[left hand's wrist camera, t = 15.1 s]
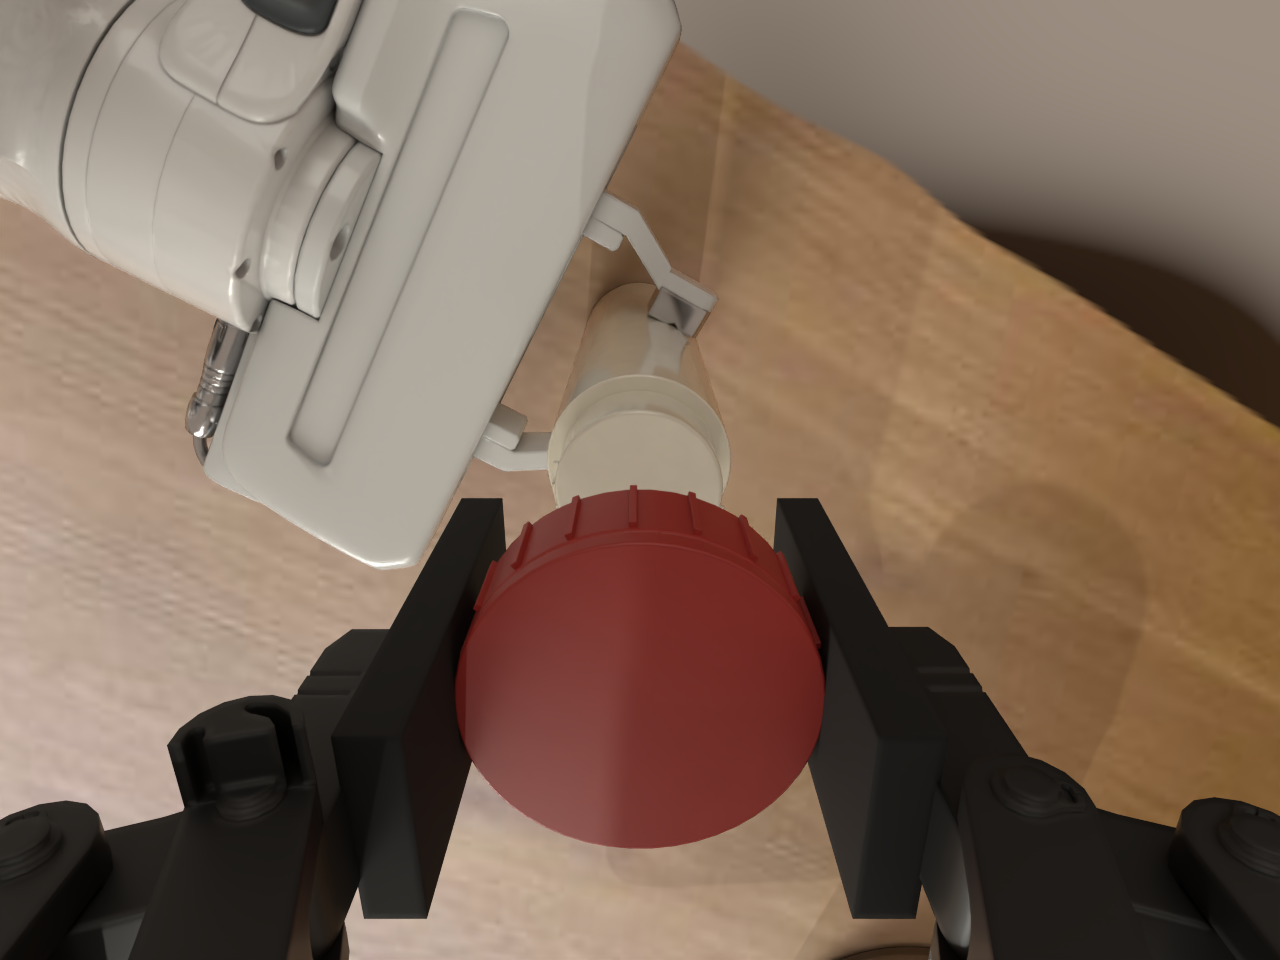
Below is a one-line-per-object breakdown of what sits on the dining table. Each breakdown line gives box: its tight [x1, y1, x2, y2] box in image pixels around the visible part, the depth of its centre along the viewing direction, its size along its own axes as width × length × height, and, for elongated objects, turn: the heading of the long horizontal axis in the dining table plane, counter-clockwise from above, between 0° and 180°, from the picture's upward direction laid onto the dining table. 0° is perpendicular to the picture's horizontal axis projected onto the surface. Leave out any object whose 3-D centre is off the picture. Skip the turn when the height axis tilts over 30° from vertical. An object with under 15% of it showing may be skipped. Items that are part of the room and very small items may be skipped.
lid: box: [455, 485, 825, 848], centre depth 12 cm, size 5×5×2 cm
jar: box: [547, 283, 731, 509], centre depth 24 cm, size 4×4×16 cm
